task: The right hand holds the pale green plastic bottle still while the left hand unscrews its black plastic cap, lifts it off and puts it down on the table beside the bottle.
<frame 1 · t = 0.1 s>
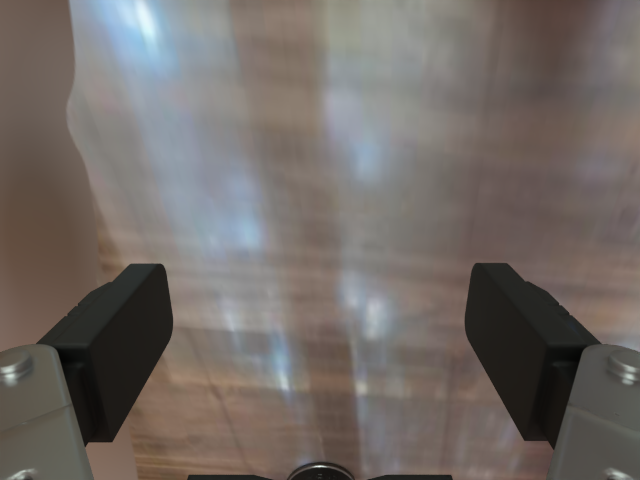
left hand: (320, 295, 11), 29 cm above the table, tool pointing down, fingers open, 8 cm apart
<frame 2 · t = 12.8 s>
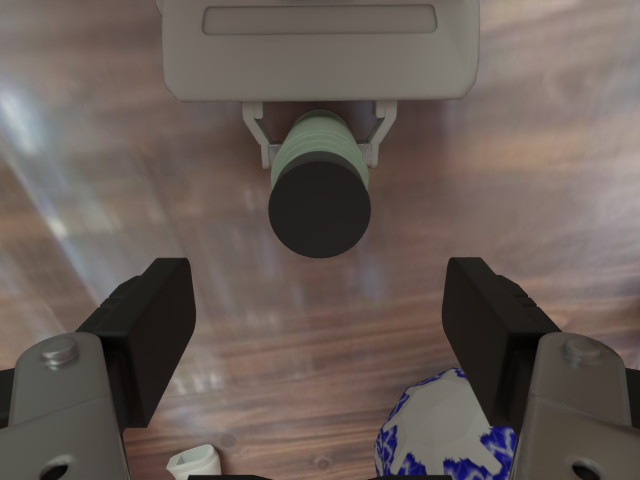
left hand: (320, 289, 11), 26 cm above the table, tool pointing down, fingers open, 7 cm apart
ornament: (451, 405, 46), on the table
bottle: (320, 141, 36), on the table, touching right hand
cap: (319, 209, 18), point 19 cm above the table, screwed on, not yet turned
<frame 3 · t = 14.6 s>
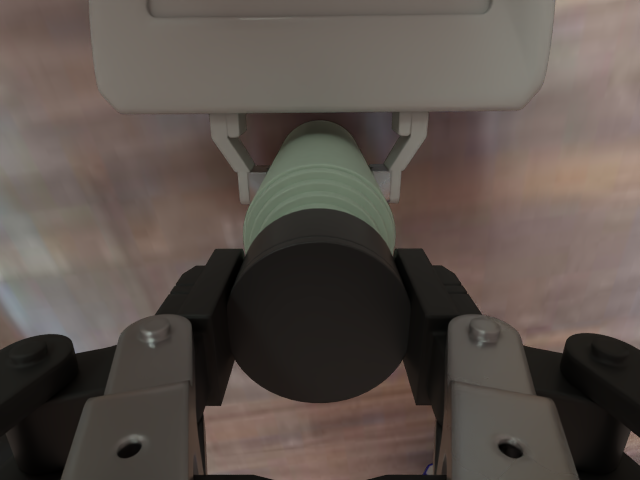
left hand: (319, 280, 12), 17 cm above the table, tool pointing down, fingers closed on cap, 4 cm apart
bottle: (319, 162, 28), on the table, touching right hand
cap: (318, 322, 10), point 19 cm above the table, screwed on, not yet turned, touching left hand
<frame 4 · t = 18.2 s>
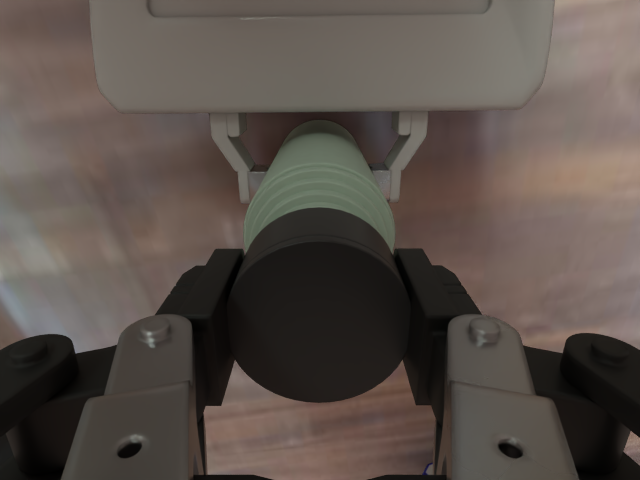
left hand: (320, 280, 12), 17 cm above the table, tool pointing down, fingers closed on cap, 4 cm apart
bottle: (319, 161, 28), on the table, touching right hand
cap: (318, 321, 10), point 19 cm above the table, turned 78° so far, risen 0.1 cm, still on its thread, touching left hand
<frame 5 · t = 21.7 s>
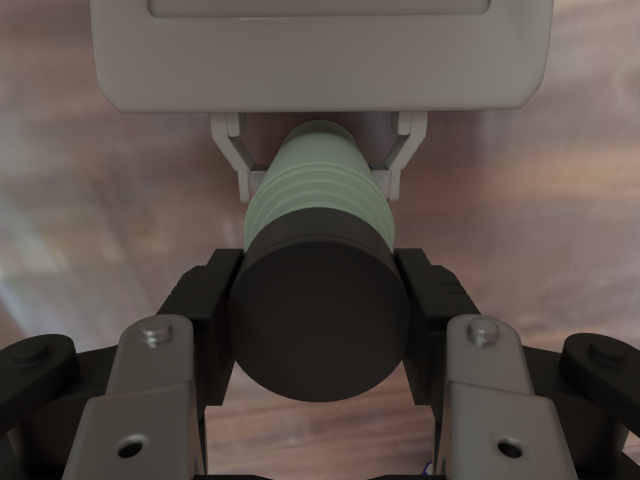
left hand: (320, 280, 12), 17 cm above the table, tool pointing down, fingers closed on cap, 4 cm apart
bottle: (319, 161, 28), on the table, touching right hand
cap: (318, 321, 10), point 19 cm above the table, turned 157° so far, risen 0.1 cm, still on its thread, touching left hand
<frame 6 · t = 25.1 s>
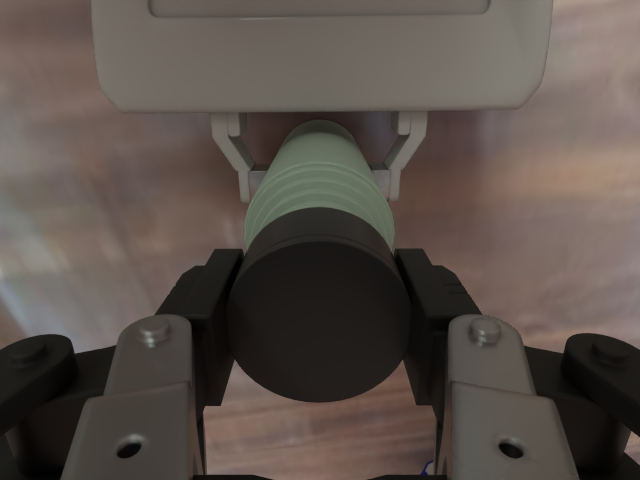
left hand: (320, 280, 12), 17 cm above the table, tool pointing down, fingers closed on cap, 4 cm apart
bottle: (319, 161, 28), on the table, touching right hand
cap: (318, 321, 10), point 19 cm above the table, turned 235° so far, risen 0.2 cm, still on its thread, touching left hand
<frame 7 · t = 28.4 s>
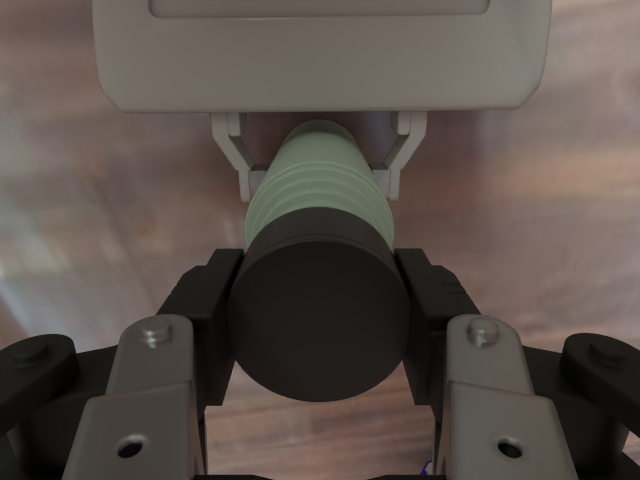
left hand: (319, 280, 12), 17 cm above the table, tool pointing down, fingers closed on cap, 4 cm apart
bottle: (319, 160, 28), on the table, touching right hand
cap: (318, 320, 10), point 20 cm above the table, turned 314° so far, risen 0.3 cm, still on its thread, touching left hand
when the left hand's fingers open (2 cm above the table, at t = 36.7 s): cap drops 2 cm, point 2 cm above the table.
when the right hand's fingers open (6 cm above the table, at t = 37.8 s): bottle stays where it is, on the table.
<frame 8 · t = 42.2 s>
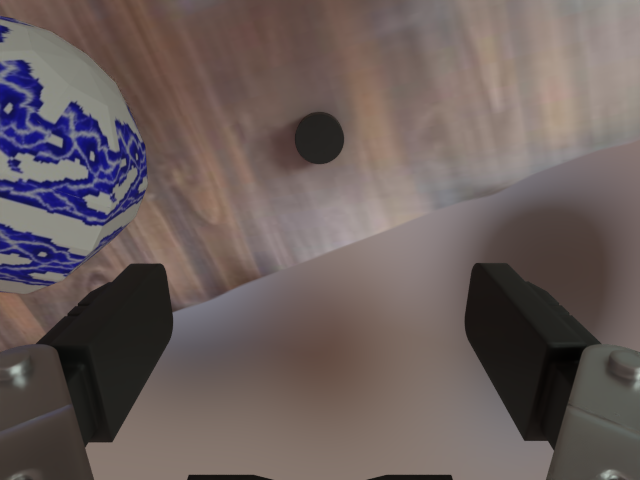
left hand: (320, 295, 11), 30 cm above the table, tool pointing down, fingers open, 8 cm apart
ornament: (71, 141, 39), on the table
cap: (319, 139, 37), point 2 cm above the table, off its thread
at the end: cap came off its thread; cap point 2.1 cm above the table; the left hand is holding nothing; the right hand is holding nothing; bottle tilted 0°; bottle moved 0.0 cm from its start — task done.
